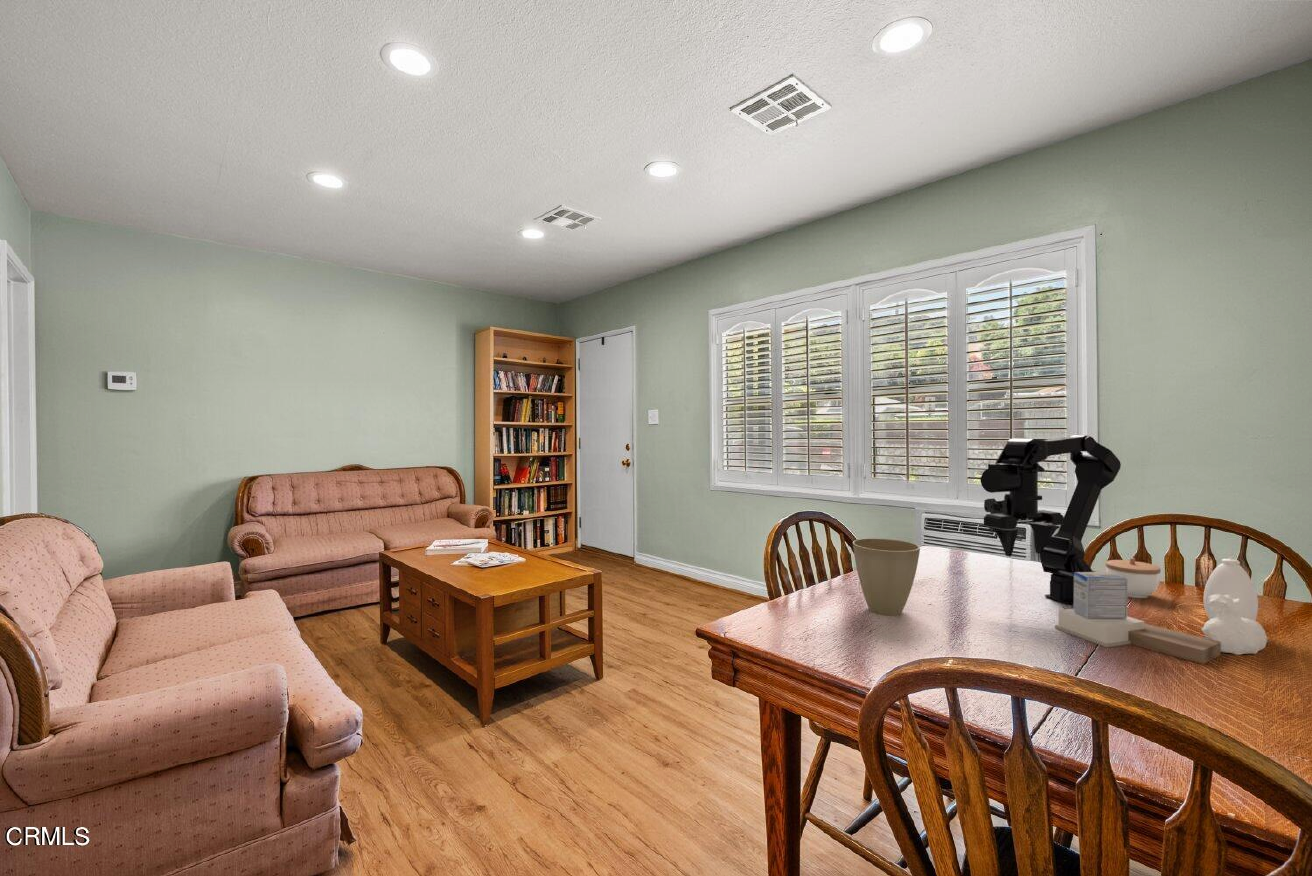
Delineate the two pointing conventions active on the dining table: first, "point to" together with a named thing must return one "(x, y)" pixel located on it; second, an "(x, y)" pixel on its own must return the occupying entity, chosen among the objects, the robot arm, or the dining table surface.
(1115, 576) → the medicine box
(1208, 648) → the grey-brown long grooved block
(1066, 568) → the robot arm
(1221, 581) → the sauce bottle
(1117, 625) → the block
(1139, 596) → the lidded jar
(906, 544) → the plant pot
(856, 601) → the dining table surface
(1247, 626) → the duck figurine
